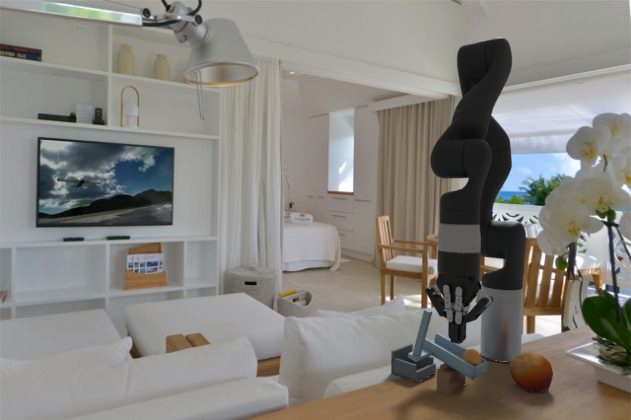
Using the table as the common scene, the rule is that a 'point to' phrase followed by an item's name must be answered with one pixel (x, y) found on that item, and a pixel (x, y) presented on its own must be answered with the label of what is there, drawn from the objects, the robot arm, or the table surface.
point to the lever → (444, 351)
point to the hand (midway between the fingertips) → (456, 342)
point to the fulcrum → (449, 379)
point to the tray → (411, 364)
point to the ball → (472, 357)
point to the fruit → (531, 372)
